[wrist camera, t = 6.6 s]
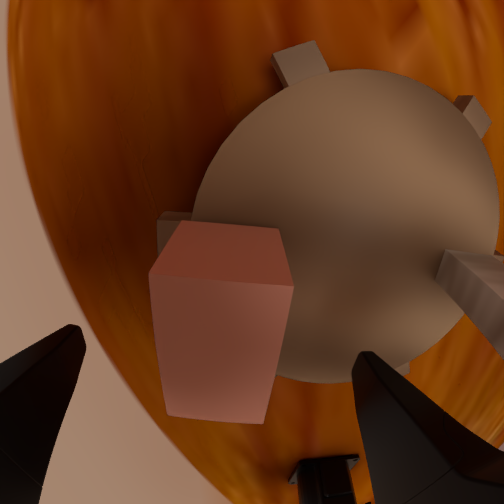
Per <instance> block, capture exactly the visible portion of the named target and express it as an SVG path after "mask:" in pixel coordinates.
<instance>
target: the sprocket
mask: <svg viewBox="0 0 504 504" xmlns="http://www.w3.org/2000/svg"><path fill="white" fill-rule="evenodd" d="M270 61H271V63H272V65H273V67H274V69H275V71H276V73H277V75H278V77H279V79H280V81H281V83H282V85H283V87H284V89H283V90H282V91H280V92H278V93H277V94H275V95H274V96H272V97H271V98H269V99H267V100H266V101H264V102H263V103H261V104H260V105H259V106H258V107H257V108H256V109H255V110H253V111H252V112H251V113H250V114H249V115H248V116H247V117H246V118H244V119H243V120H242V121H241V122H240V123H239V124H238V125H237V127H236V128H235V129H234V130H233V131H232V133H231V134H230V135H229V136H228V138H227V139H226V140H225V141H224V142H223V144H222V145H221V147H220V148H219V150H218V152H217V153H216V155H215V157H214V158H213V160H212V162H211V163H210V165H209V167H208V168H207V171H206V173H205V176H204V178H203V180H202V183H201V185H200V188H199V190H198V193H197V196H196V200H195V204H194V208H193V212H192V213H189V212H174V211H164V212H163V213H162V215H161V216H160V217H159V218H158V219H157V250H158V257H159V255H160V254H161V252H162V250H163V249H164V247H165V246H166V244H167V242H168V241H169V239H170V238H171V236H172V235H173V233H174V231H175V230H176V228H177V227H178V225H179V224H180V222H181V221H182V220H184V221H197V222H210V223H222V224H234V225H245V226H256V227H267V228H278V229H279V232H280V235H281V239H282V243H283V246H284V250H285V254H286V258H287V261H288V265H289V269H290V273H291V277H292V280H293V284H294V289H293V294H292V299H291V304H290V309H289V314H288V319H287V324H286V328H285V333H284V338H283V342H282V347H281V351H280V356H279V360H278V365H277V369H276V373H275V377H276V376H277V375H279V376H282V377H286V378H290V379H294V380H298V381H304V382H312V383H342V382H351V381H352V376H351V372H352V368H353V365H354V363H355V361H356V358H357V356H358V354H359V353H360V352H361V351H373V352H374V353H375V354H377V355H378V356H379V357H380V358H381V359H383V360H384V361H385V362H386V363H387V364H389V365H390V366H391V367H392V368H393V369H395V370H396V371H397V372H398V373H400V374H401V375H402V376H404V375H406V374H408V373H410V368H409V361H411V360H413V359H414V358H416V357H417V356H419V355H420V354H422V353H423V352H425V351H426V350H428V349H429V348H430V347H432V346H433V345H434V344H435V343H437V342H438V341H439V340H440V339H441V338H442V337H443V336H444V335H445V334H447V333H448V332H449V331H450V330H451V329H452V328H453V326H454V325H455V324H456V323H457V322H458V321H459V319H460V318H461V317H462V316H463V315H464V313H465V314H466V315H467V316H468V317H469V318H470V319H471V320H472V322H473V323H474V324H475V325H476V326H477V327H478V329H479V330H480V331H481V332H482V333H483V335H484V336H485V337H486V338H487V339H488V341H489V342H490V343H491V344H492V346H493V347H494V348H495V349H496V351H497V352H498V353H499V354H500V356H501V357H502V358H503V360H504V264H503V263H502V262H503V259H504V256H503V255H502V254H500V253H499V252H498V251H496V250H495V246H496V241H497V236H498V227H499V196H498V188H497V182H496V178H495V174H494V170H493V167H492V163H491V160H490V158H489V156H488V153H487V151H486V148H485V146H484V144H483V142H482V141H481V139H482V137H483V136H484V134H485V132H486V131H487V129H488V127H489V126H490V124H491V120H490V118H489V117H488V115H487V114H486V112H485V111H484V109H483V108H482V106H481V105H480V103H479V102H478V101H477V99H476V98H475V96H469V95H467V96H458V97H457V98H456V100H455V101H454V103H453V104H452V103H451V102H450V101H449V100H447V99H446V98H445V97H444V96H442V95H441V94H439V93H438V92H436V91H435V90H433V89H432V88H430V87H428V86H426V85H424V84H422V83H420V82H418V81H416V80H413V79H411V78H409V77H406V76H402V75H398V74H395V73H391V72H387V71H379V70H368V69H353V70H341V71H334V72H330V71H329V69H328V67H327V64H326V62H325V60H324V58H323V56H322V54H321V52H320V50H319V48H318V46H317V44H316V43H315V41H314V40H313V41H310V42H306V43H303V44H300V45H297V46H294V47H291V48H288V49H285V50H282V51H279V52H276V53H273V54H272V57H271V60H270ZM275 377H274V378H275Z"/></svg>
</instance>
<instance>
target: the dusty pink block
mask: <svg viewBox="0 0 504 504" xmlns="http://www.w3.org/2000/svg"><path fill="white" fill-rule="evenodd" d="M148 274H149V287H150V299H151V309H152V318H153V327H154V335H155V343H156V350H157V357H158V364H159V371H160V377H161V383H162V388H163V394H164V399H165V405H166V410H167V415H170V416H176V417H184V418H191V419H200V420H209V421H220V422H233V423H252V424H263V422H264V418H265V414H266V410H267V406H268V402H269V398H270V394H271V390H272V386H273V382H274V377H275V373H276V369H277V365H278V360H279V356H280V351H281V347H282V342H283V338H284V333H285V328H286V324H287V319H288V314H289V309H290V304H291V299H292V294H293V289H294V284H293V280H292V277H291V273H290V269H289V265H288V261H287V258H286V254H285V250H284V246H283V243H282V239H281V235H280V232H279V229H278V228H267V227H256V226H245V225H234V224H222V223H210V222H197V221H184V220H182V221H181V222H180V224H179V225H178V227H177V228H176V230H175V231H174V233H173V235H172V236H171V238H170V239H169V241H168V242H167V244H166V246H165V247H164V249H163V250H162V252H161V254H160V255H159V257H158V258H157V260H156V262H155V263H154V265H153V267H152V268H151V270H150V272H149V273H148Z"/></svg>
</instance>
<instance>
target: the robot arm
mask: <svg viewBox="0 0 504 504" xmlns="http://www.w3.org/2000/svg"><path fill="white" fill-rule="evenodd" d="M85 352H86V343H85V340H84V336H83V333H82V330H81V328H80V327H79V326H77V325H73V324H68V325H66V326H64V327H63V328H61V329H59V330H57V331H56V332H54V333H52V334H50V335H49V336H47V337H45V338H43V339H41V340H40V341H38V342H36V343H34V344H33V345H31V346H29V347H28V348H26V349H24V350H22V351H21V352H19V353H17V354H15V355H14V356H12V357H10V358H9V359H7V360H5V361H4V362H2V363H0V504H39V500H40V496H41V491H42V486H43V483H44V479H45V475H46V472H47V468H48V465H49V461H50V458H51V454H52V451H53V448H54V445H55V442H56V439H57V436H58V433H59V430H60V427H61V424H62V421H63V419H64V416H65V413H66V410H67V408H68V405H69V402H70V400H71V397H72V394H73V392H74V389H75V386H76V383H77V380H78V376H79V372H80V369H81V365H82V362H83V359H84V356H85ZM351 376H352V383H353V391H354V399H355V407H356V414H357V419H358V423H359V427H360V432H361V436H362V440H363V445H364V449H365V454H366V459H367V463H368V468H369V473H370V478H371V483H372V488H373V494H374V499H375V504H504V452H503V451H501V450H499V449H497V448H495V447H494V446H492V445H491V444H489V443H488V442H486V441H485V440H483V439H482V438H480V437H479V436H477V435H476V434H474V433H473V432H471V431H470V430H468V429H467V428H466V427H464V426H463V425H461V424H460V423H459V422H458V421H456V420H455V419H454V418H453V417H451V416H450V415H449V414H448V413H447V412H445V411H444V410H443V409H442V408H440V407H439V406H438V405H437V404H436V403H434V402H433V401H432V400H431V399H430V398H428V397H427V396H426V395H425V394H424V393H422V392H421V391H420V390H419V389H418V388H416V387H415V386H414V385H413V384H412V383H410V382H409V381H408V380H407V379H406V378H404V377H403V376H402V375H401V374H400V373H398V372H397V371H396V370H395V369H393V368H392V367H391V366H390V365H389V364H387V363H386V362H385V361H384V360H383V359H381V358H380V357H379V356H378V355H377V354H375V353H374V352H373V351H361V352H360V353H359V354H358V356H357V358H356V361H355V363H354V365H353V368H352V372H351ZM359 460H360V457H359V455H354V456H346V457H338V458H328V459H317V460H304V461H300V462H299V463H298V465H297V466H296V468H295V470H294V472H293V473H292V475H291V477H290V478H289V480H288V484H297V485H298V495H299V504H357V502H356V497H355V492H354V488H353V483H352V478H351V474H350V470H351V469H352V468H353V466H354V465H355V464H356V463H357V462H358V461H359ZM365 504H371V502H368V503H365Z"/></svg>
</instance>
